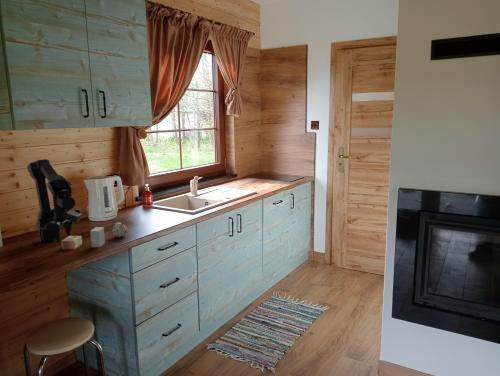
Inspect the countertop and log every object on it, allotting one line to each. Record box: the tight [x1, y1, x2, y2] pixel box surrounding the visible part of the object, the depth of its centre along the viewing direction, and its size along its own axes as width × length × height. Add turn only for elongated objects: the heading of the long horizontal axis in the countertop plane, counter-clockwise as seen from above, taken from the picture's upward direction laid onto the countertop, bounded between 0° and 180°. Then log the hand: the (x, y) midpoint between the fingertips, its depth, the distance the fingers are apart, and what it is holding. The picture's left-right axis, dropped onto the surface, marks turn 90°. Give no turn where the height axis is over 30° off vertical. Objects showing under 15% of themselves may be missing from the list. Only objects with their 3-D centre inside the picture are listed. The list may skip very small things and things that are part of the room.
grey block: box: [90, 226, 106, 248], centre depth 197 cm, size 6×4×8 cm, turn 177°
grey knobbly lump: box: [110, 220, 129, 240], centre depth 208 cm, size 9×8×10 cm
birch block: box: [60, 235, 83, 250], centre depth 196 cm, size 6×4×8 cm
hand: (64, 238), depth 188 cm, fingers open, 9 cm apart
